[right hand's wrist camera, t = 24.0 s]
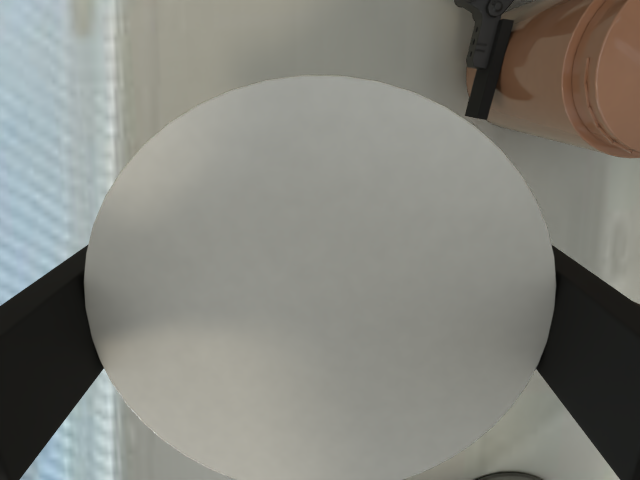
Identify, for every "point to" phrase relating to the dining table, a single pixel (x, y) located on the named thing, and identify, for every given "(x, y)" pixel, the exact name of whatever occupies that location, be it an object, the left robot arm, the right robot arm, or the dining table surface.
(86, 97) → the dining table surface
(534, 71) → the jar
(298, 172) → the lid
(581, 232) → the dining table surface
